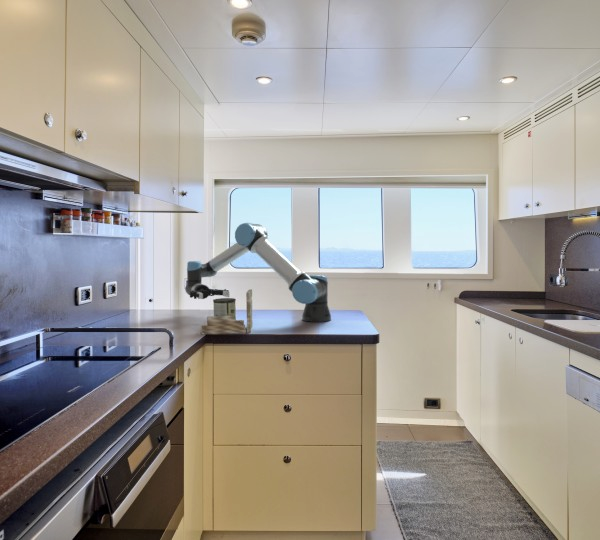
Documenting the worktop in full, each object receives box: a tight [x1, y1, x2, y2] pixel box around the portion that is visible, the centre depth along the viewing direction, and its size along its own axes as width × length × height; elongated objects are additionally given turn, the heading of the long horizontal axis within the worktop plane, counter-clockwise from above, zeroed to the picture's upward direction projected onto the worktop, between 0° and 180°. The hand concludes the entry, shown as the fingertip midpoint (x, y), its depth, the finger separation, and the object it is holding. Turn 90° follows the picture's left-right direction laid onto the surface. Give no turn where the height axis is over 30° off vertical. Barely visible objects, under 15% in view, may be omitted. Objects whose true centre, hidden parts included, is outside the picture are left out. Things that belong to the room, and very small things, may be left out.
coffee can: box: [212, 297, 237, 320], centre depth 193 cm, size 10×10×14 cm
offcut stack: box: [200, 315, 246, 331], centre depth 183 cm, size 19×2×6 cm, turn 93°
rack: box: [199, 288, 254, 334], centre depth 190 cm, size 22×16×18 cm
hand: (215, 295), depth 200 cm, fingers open, 13 cm apart
